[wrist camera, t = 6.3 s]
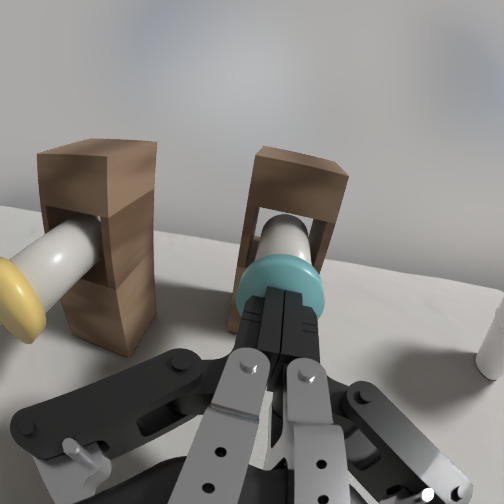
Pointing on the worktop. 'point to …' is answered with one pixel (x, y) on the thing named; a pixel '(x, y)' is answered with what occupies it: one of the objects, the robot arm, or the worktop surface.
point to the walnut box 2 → (290, 204)
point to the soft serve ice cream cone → (493, 348)
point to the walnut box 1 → (106, 234)
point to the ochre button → (46, 273)
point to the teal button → (282, 264)
